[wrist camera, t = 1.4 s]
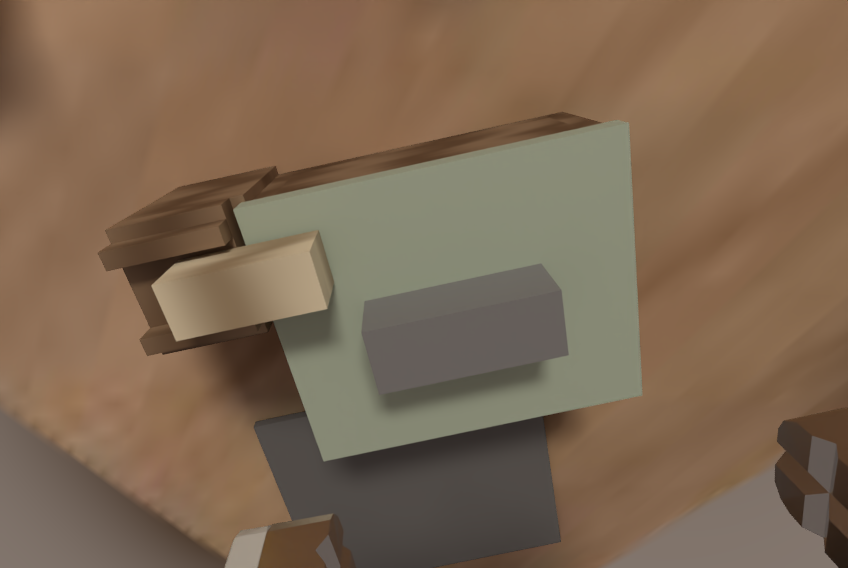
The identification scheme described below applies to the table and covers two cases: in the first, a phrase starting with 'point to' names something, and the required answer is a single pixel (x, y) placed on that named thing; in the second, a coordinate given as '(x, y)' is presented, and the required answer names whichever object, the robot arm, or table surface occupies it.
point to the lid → (465, 290)
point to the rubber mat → (422, 492)
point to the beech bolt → (245, 286)
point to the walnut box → (215, 199)
